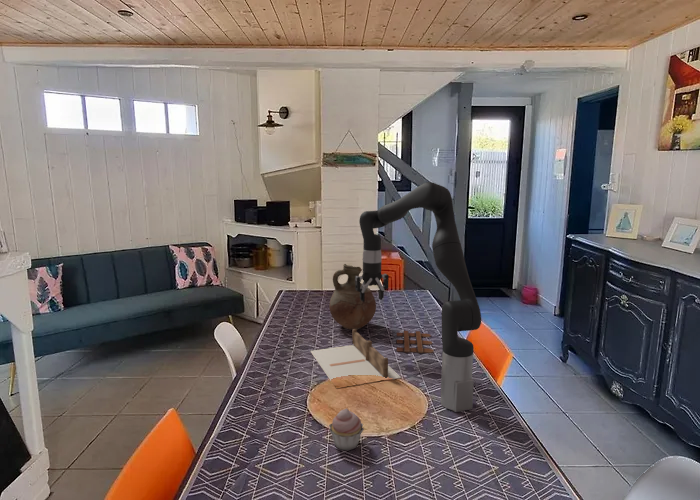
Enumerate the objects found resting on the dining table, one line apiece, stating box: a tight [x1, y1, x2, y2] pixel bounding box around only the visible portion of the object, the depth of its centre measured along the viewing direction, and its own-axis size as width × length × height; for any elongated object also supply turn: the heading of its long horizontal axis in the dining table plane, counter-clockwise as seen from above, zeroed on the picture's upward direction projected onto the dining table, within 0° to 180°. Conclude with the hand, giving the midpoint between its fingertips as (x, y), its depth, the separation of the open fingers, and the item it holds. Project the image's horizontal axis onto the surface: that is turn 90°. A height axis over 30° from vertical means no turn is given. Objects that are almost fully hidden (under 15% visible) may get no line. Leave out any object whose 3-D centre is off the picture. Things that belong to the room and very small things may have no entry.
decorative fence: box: [395, 330, 435, 354], centre depth 191 cm, size 23×2×15 cm
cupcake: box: [328, 407, 365, 451], centre depth 119 cm, size 9×9×10 cm
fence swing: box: [351, 329, 367, 357], centre depth 181 cm, size 15×2×6 cm, turn 20°
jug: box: [328, 263, 377, 330], centre depth 207 cm, size 22×22×30 cm
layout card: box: [310, 344, 402, 381], centre depth 170 cm, size 34×24×1 cm
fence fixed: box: [366, 340, 389, 378], centre depth 165 cm, size 18×2×8 cm, turn 20°
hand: (371, 300), depth 183 cm, fingers open, 7 cm apart
